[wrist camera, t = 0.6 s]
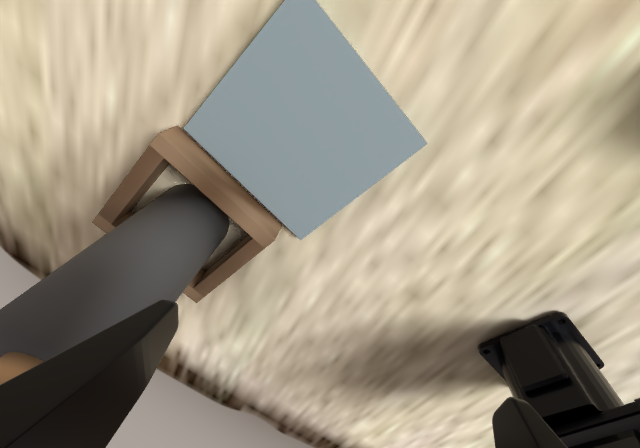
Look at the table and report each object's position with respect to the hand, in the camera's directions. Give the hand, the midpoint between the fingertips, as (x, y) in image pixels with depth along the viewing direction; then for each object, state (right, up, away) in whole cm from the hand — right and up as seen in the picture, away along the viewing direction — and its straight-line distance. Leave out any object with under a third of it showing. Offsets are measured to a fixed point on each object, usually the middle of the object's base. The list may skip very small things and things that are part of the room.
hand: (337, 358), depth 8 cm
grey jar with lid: (-9, +4, +14) cm, 17 cm away
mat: (-2, +9, +10) cm, 14 cm away
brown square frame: (-9, +4, +14) cm, 17 cm away
